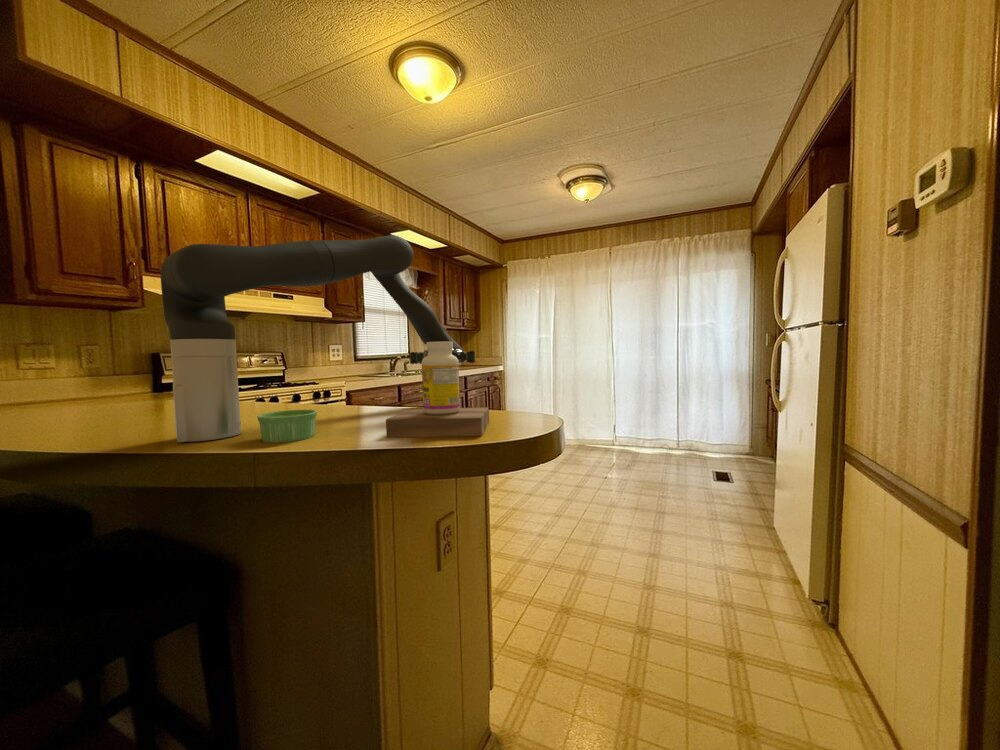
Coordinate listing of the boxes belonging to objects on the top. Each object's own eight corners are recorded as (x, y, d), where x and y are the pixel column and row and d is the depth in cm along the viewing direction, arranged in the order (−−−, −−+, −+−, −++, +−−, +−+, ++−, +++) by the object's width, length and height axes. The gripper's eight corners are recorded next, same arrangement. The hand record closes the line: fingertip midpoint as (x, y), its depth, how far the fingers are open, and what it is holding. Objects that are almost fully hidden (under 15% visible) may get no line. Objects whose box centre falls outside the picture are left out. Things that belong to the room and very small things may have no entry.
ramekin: (247, 445, 63) (245, 418, 62) (274, 434, 72) (273, 410, 71) (305, 442, 63) (304, 416, 63) (325, 432, 72) (324, 408, 72)
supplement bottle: (423, 411, 74) (421, 343, 73) (458, 409, 75) (456, 342, 75) (422, 416, 67) (420, 341, 67) (461, 414, 69) (459, 340, 68)
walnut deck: (481, 436, 64) (481, 418, 64) (386, 437, 65) (385, 419, 65) (489, 422, 77) (488, 407, 77) (409, 423, 78) (409, 408, 78)
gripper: (414, 343, 97) (406, 339, 81) (472, 342, 98) (475, 338, 82) (415, 373, 97) (407, 376, 81) (473, 372, 99) (476, 374, 82)
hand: (441, 357), depth 82 cm, fingers open, 8 cm apart
